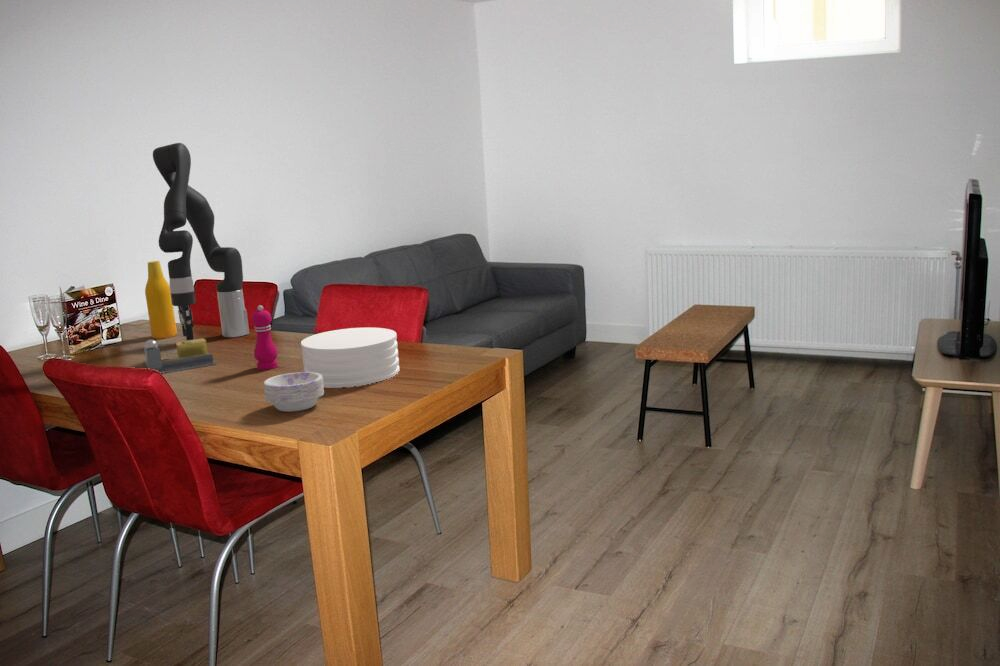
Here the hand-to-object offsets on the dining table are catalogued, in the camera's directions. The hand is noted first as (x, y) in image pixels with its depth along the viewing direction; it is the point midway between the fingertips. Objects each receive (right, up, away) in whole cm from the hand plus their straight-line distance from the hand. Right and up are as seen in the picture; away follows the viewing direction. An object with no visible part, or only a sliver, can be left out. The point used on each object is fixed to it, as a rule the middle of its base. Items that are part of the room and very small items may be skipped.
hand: (188, 337), depth 288 cm
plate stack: (+62, -11, -34) cm, 71 cm away
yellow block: (+1, -7, +2) cm, 7 cm away
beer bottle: (-24, 0, +40) cm, 46 cm away
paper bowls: (+52, -18, -63) cm, 84 cm away
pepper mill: (+32, -9, -19) cm, 38 cm away
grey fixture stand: (+1, -9, -10) cm, 14 cm away
